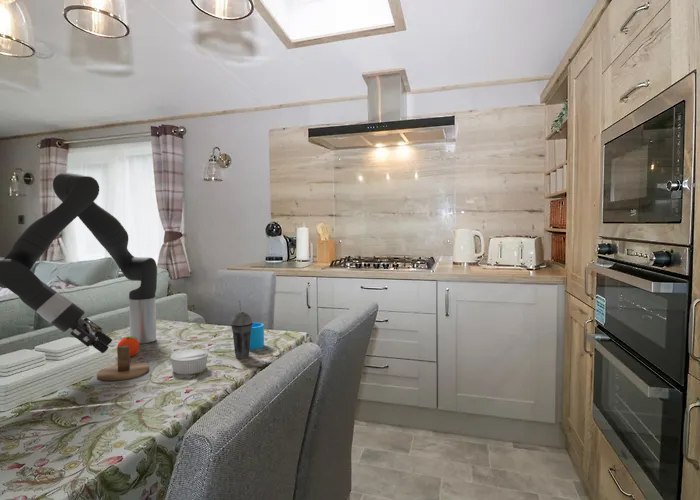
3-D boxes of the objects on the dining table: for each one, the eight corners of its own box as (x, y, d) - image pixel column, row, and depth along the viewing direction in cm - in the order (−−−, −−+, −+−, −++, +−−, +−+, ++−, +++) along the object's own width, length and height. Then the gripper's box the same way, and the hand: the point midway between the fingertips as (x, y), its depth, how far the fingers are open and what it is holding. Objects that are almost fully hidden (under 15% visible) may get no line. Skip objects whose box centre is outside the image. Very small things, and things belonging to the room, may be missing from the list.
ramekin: (192, 379, 121) (191, 361, 121) (162, 374, 125) (161, 357, 125) (215, 367, 132) (215, 351, 132) (187, 363, 135) (187, 347, 135)
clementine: (129, 352, 147) (129, 332, 146) (146, 353, 145) (146, 334, 145) (112, 359, 139) (111, 338, 139) (130, 360, 138) (129, 340, 137)
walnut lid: (105, 367, 129) (104, 342, 129) (153, 363, 133) (153, 339, 133) (89, 383, 116) (89, 356, 116) (143, 378, 120) (143, 352, 119)
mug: (264, 348, 152) (264, 327, 151) (241, 350, 150) (241, 328, 149) (263, 340, 163) (263, 319, 163) (242, 341, 161) (242, 321, 161)
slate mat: (103, 368, 130) (103, 366, 130) (157, 364, 134) (157, 362, 134) (84, 387, 115) (84, 385, 115) (146, 381, 119) (146, 380, 119)
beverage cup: (256, 354, 144) (256, 298, 143) (245, 361, 137) (244, 302, 136) (239, 352, 147) (238, 297, 146) (227, 358, 140) (226, 301, 139)
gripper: (66, 306, 112) (115, 343, 117) (76, 298, 124) (120, 331, 130) (43, 327, 110) (94, 363, 115) (56, 317, 123) (101, 349, 128)
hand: (108, 346), depth 122 cm, fingers open, 8 cm apart
